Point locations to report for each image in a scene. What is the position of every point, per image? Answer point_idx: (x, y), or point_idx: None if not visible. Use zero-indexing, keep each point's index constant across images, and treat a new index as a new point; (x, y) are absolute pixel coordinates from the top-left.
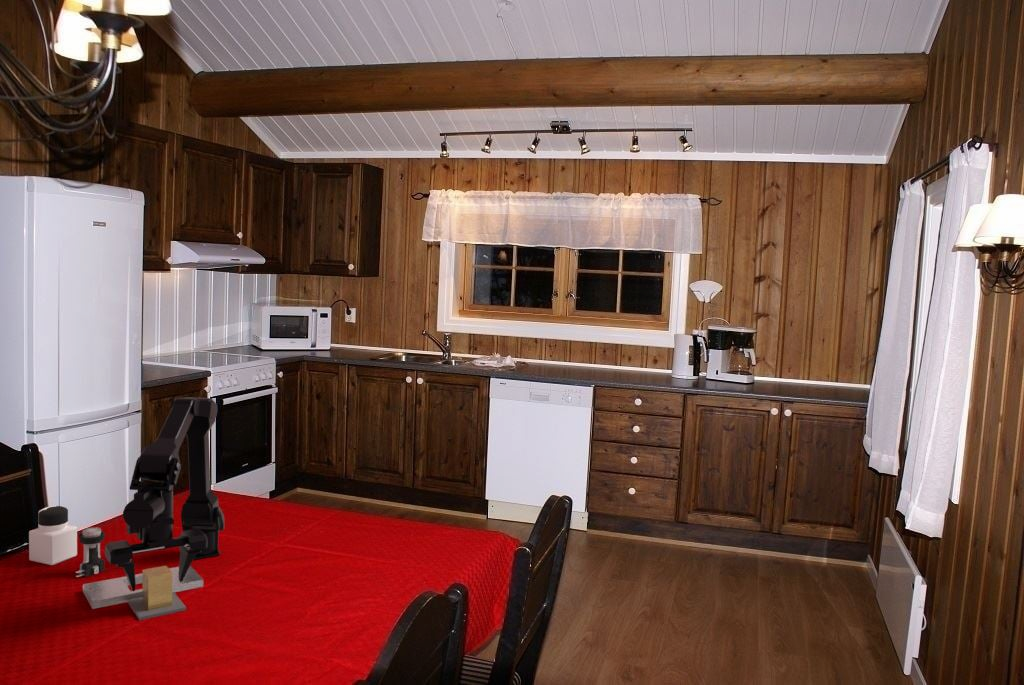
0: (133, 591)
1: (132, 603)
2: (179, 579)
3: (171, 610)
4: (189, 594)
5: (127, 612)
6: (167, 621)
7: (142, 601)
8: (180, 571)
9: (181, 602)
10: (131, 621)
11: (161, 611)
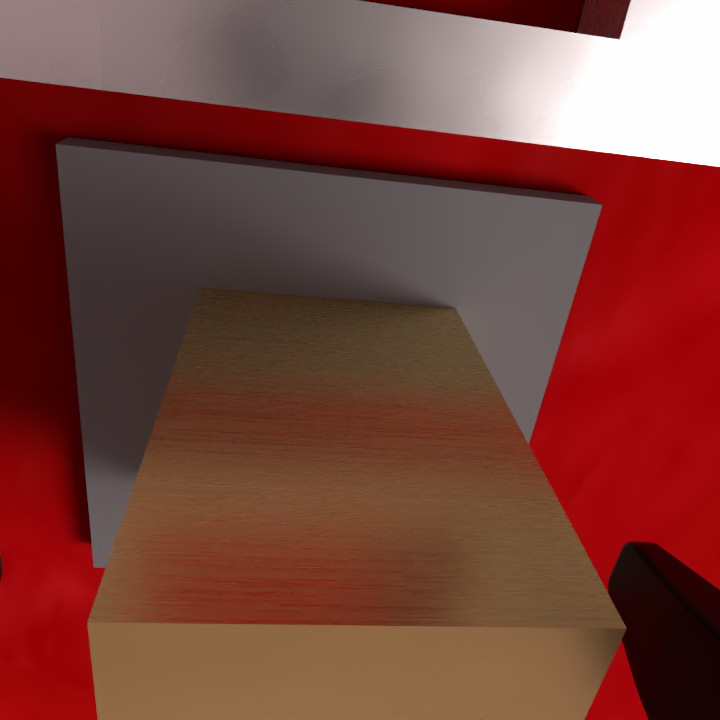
0: (134, 14)
1: (91, 251)
2: (627, 584)
3: None
4: (698, 287)
5: (27, 352)
6: None
7: (199, 293)
8: (695, 711)
9: None
10: (36, 532)
11: None
